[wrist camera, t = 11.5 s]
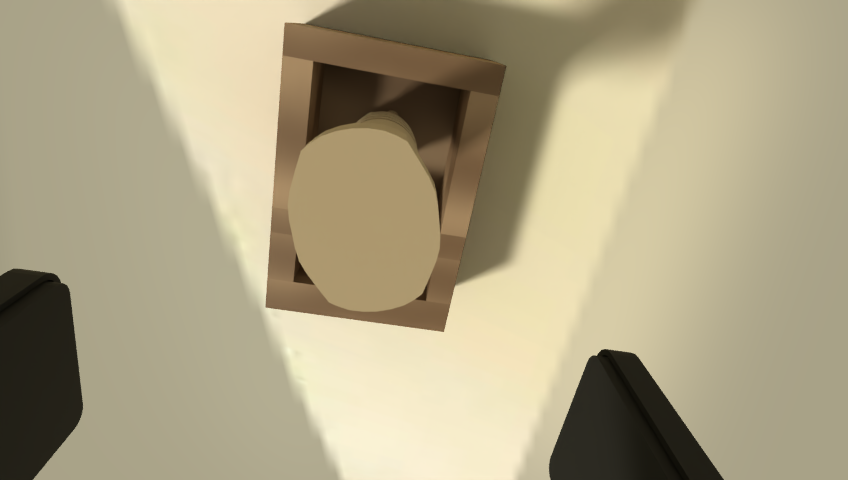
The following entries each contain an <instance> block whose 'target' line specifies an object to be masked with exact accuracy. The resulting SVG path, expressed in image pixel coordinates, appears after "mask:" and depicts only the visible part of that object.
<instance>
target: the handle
mask: <svg viewBox="0 0 848 480" xmlns="http://www.w3.org/2000/svg"><path fill="white" fill-rule="evenodd" d="M288 215H289V222H290V227H291V232H292V237H293V241H294V246H295V250H296V253H297V256H298V259H299V262H300V263H301V265H302V267H303V268H304V270H305V272H306V273H307V275H308V276H309V277H310V279H311V280H312V281H313V283H314V284H315V285H316V287H317V288H318V289H319V290H320V292H321V293H322V294H323V296H324V297H325V298H326V299H327V301H328V302H329V303H331V304H334V305H336V306H338V307H341V308H344V309H348V310H352V311H361V312H377V311H384V310H390V309H394V308H397V307H400V306H404V305H406V304H408V303H409V302H411V301H413V300H415V299H416V298H417V297H419V296H420V295H422V293H423V291H424V289H425V287H426V284H427V282H428V280H429V278H430V275H431V273H432V271H433V268H434V266H435V263H436V261H437V257H438V253H439V249H440V224H439V211H438V201H437V193H436V188H435V184H434V181H433V179H432V177H431V175H430V173H429V171H428V169H427V168H426V166H425V164H424V162H423V161H422V159H421V157H420V155H419V154H418V149H417V143H416V140H415V137H414V134H413V132H412V130H411V128H410V127H409V125H408V124H407V123H406V122H405V121H404V120H403V119H402V118H401V117H399V116H398V113H397V112H395V111H392V110H389V111H388V112H386V111H378V112H370V113H368V114H367V115H365V116H364V117H362V118H361V119H360V120H358V121H357V122H356V123H352V124H347V125H341V126H338V127H335V128H332V129H329V130H326V131H324V132H323V133H321V134H320V135H318V136H317V137H315V138H314V139H313V140H312V141H310V142H309V143H308V144H307V145H306V146H305V147H304V148H303V149H302V150H301V152H300V156H299V159H298V162H297V166H296V169H295V172H294V176H293V180H292V183H291V187H290V191H289V198H288Z"/></svg>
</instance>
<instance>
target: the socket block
mask: <svg viewBox="0 0 848 480" xmlns="http://www.w3.org/2000/svg"><path fill="white" fill-rule="evenodd" d="M505 69H506V66H505V65H502V64H499V63H497V62H494V61H491V60H487V59H481V58H476V57H471V56H466V55H461V54H456V53H451V52H446V51H441V50H436V49H431V48H425V47H420V46H415V45H410V44H405V43H400V42H395V41H390V40H385V39H380V38H375V37H370V36H364V35H359V34H354V33H349V32H344V31H339V30H334V29H329V28H324V27H319V26H314V25H308V24H301V23H285V27H284V42H283V57H282V71H281V86H280V101H279V116H278V131H277V145H276V160H275V175H274V190H273V205H272V220H271V234H270V249H269V264H268V279H267V294H266V308H273V309H281V310H288V311H295V312H303V313H310V314H317V315H325V316H332V317H339V318H346V319H354V320H361V321H368V322H376V323H383V324H390V325H398V326H405V327H412V328H419V329H427V330H434V331H441V332H444V329H445V325H446V320H447V316H448V312H449V308H450V303H451V299H452V295H453V291H454V286H455V282H456V278H457V274H458V269H459V265H460V261H461V257H462V252H463V248H464V244H465V240H466V235H467V231H468V227H469V223H470V218H471V214H472V210H473V205H474V201H475V197H476V193H477V188H478V184H479V180H480V176H481V171H482V167H483V163H484V159H485V154H486V150H487V146H488V142H489V137H490V133H491V129H492V125H493V120H494V116H495V112H496V108H497V103H498V99H499V95H500V91H501V86H502V82H503V78H504V74H505ZM389 110H392V111H395V112H397V113H398V116H399V117H401V118H402V119H403V120H404V121H405V122H406V123H407V124H408V125H409V127H410V128H411V130H412V132H413V134H414V137H415V140H416V143H417V149H418V154H419V155H420V157H421V159H422V161H423V162H424V164H425V166H426V168H427V169H428V171H429V173H430V175H431V177H432V179H433V181H434V184H435V188H436V193H437V201H438V211H439V224H440V249H439V253H438V257H437V261H436V263H435V266H434V268H433V271H432V273H431V275H430V278H429V280H428V282H427V284H426V287H425V289H424V291H423V293H422V295H420V296H419V297H417V298H416V299H415V300H413V301H411V302H409V303H408V304H406V305H404V306H400V307H397V308H394V309H390V310H384V311H377V312H361V311H352V310H348V309H344V308H341V307H338V306H336V305H334V304H331V303H329V302H328V301H327V299H326V298H325V297H324V296H323V294H322V293H321V292H320V290H319V289H318V288H317V287H316V285H315V284H314V283H313V281H312V280H311V279H310V277H309V276H308V275H307V273H306V272H305V270H304V268H303V267H302V265H301V263H300V262H299V259H298V256H297V253H296V250H295V246H294V241H293V237H292V232H291V227H290V222H289V215H288V198H289V191H290V187H291V183H292V180H293V176H294V172H295V169H296V166H297V162H298V159H299V156H300V152H301V150H302V149H303V148H304V147H305V146H306V145H307V144H308V143H309V142H310V141H312V140H313V139H314V138H315V137H317V136H318V135H320V134H321V133H323V132H324V131H326V130H329V129H332V128H335V127H338V126H341V125H347V124H352V123H356V122H357V121H358V120H360V119H361V118H362V117H364V116H365V115H367V114H368V113H370V112H378V111H386V112H388V111H389Z"/></svg>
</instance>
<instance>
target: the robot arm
mask: <svg viewBox="0 0 848 480" xmlns="http://www.w3.org/2000/svg"><path fill="white" fill-rule="evenodd" d="M82 410H83V402H82V393H81V385H80V376H79V367H78V358H77V350H76V341H75V333H74V325H73V315H72V307H71V298H70V292H69V288H68V287H67V285H65V284H63V283H61V282H60V279H59V278H58V276H57V275H55V274H52V273H45V272H39V271H31V270H24V269H12V270H10V271H7V272H6V273H4V274H3V275H1V276H0V480H33V479H34V477H35V476H36V475H37V474H38V473H39V471H40V470H41V469H42V468H43V467H44V465H45V464H46V463H47V461H48V460H49V459H50V458H51V457H52V456H53V454H54V453H55V452H56V451H57V449H58V448H59V447H60V446H61V445H62V443H63V442H64V441H65V440H66V438H67V437H68V436H69V435H70V434H71V432H72V431H73V430H74V429H75V427H76V426H77V424H78V422H79V420H80V418H81V415H82ZM549 474H550V478H551V480H724V479H723V478H722V477H721V475H720V474H719V472H718V471H717V469H716V468H715V466H714V465H713V464H712V462H711V461H710V459H709V458H708V456H707V455H706V454H705V452H704V451H703V449H702V448H701V446H700V445H699V444H698V442H697V441H696V439H695V438H694V436H693V435H692V434H691V432H690V431H689V429H688V428H687V426H686V425H685V424H684V422H683V421H682V419H681V418H680V416H679V415H678V414H677V412H676V411H675V409H674V408H673V406H672V405H671V404H670V402H669V401H668V399H667V398H666V396H665V395H664V394H663V392H662V391H661V389H660V388H659V386H658V385H657V384H656V382H655V381H654V379H653V378H652V376H651V375H650V374H649V372H648V371H647V369H646V368H645V366H644V365H643V363H642V362H641V361H640V359H639V358H638V357H637V356H636V355H635V354H633V353H629V352H622V351H614V350H607V349H604V350H601V351H600V352H599V353H598V355H597V356H591V357H590V358H589V360H588V362H587V364H586V367H585V370H584V372H583V375H582V378H581V380H580V383H579V385H578V388H577V390H576V393H575V396H574V398H573V401H572V403H571V406H570V409H569V411H568V414H567V417H566V419H565V421H564V424H563V427H562V429H561V432H560V435H559V437H558V440H557V442H556V445H555V448H554V450H553V453H552V455H551V458H550V464H549Z"/></svg>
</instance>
